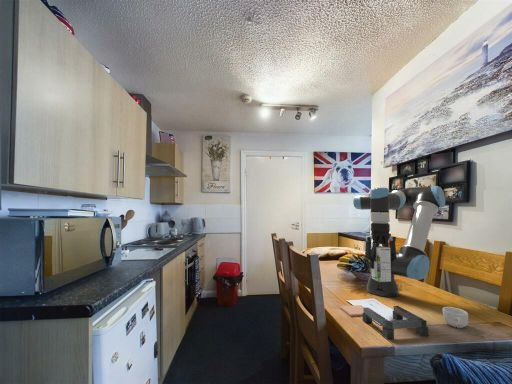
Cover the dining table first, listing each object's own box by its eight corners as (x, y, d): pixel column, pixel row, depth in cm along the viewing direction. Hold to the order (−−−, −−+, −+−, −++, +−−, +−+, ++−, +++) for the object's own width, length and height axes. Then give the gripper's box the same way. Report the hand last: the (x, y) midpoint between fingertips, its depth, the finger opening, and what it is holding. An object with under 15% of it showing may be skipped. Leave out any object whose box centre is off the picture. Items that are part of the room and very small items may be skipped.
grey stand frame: (398, 318, 101) (398, 305, 102) (428, 336, 87) (427, 321, 88) (362, 320, 99) (362, 307, 99) (387, 339, 85) (386, 323, 85)
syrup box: (371, 278, 113) (370, 245, 114) (384, 278, 113) (383, 245, 114) (378, 282, 107) (377, 247, 108) (391, 281, 108) (390, 247, 109)
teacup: (441, 319, 101) (440, 305, 101) (465, 323, 98) (464, 308, 98) (446, 329, 92) (446, 314, 93) (473, 334, 89) (472, 318, 89)
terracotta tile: (360, 306, 113) (360, 305, 113) (373, 315, 104) (373, 313, 104) (339, 308, 112) (339, 306, 112) (350, 316, 103) (350, 314, 103)
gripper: (393, 222, 117) (395, 273, 115) (355, 222, 114) (356, 274, 113) (405, 223, 110) (407, 277, 108) (364, 222, 107) (365, 278, 105)
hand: (381, 276), depth 110 cm, fingers closed on syrup box, 6 cm apart
